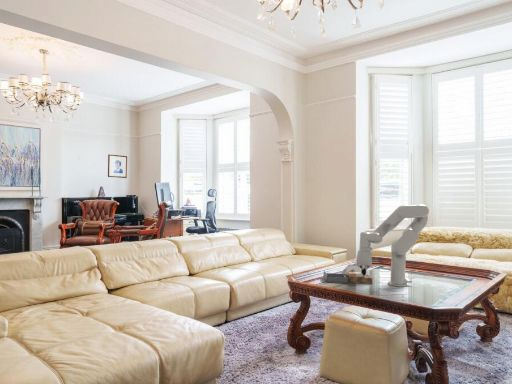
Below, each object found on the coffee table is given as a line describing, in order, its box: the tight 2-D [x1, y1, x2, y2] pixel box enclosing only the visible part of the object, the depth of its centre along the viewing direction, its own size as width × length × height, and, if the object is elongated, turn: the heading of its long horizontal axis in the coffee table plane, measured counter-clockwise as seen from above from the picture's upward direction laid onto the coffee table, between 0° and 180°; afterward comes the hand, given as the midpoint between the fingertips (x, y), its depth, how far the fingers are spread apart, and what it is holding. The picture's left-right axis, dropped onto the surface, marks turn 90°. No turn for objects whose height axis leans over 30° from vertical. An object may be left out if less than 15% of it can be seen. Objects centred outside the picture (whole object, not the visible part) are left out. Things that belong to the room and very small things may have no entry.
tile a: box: [355, 272, 363, 277], centre depth 272 cm, size 4×6×2 cm
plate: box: [345, 274, 373, 285], centre depth 272 cm, size 16×12×4 cm
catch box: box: [323, 270, 349, 284], centre depth 272 cm, size 15×14×5 cm
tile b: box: [348, 271, 356, 277], centre depth 272 cm, size 4×6×2 cm
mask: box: [340, 261, 369, 276], centre depth 301 cm, size 20×9×30 cm
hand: (363, 274), depth 272 cm, fingers closed
